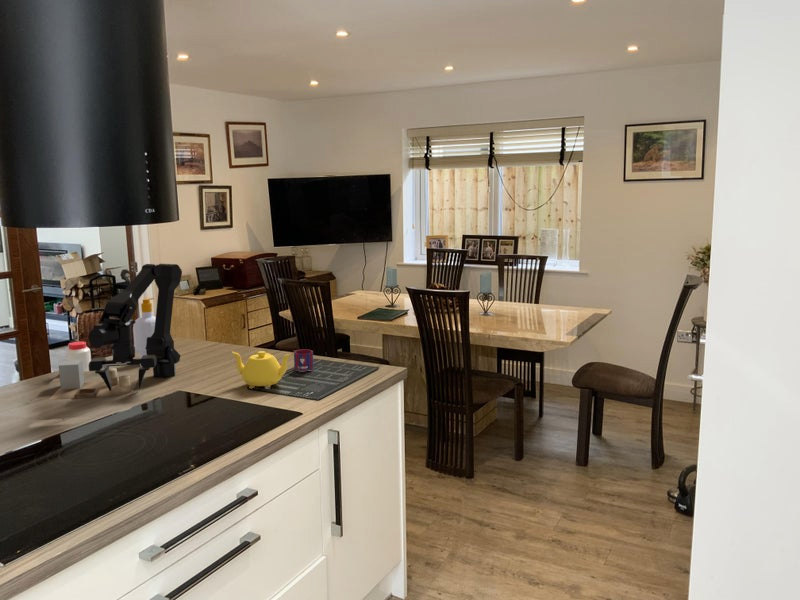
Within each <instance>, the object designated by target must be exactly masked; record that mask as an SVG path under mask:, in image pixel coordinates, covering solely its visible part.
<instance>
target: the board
mask: <svg viewBox="0 0 800 600" xmlns="http://www.w3.org/2000/svg"><path fill="white" fill-rule="evenodd" d="M130 384H131V392H130V393H128V394H120V388H119V380H118V384H117V385H115V386H112V390H111V391H110V390H109V389H108V387H107V385H106V383H105V382H104V381H94V382H92V381H91V382H84V384H83V385H82V387H81V388H76V389H61V386H60V387H59V388H58V389H57V390H56V391H55V393H54V394H53V395H52V396H51V397H50V398H49V399H48V400H49V401H56V400H68V399H69V400H71V399H72V400H73V399H85V398H86V399H87V398H97V397H98V398H99V397H113V396H114V397H115V396H128V395H132V394H133V392H134V390H135V388H136V387H137V386H138V385H137V384H138V379H130Z"/></svg>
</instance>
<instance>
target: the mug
mask: <svg viewBox="0 0 800 600" xmlns="http://www.w3.org/2000/svg"><path fill="white" fill-rule="evenodd" d="M293 366H294V369H295V370H298V371H308V370H312V369H313V370H314V350H311V349H305V348H304V349H297V350H295V351H293ZM295 370H294V371H295Z"/></svg>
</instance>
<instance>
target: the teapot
mask: <svg viewBox="0 0 800 600" xmlns="http://www.w3.org/2000/svg"><path fill="white" fill-rule="evenodd" d="M231 353H232V354H233V355H234V356H235V358H236V369H237V372H238V373H239V374H240V375H241V378H242V379H241V380H243V381H244V383H245V384H247V385H248V387H249V388H253V387H255V386H256V387H264V388H265V387H270V386H272V385H276V384H278V383H279V382H280V380H281V379H282V377H283V376H284V375H285V373H286V372H287V369H288V358H289V356H290V355H292V352H290V353H286V354H285V355H283V357H282V364H281V365H280V363H279V362H278V360H277V358H276V357H275V356H274V355H273V354H270V353H269V352H266V351H264V350H261V351H257V354H253V355H251V356H249V357H248V359H247V361H246V362H245V364H244V363H243V362H242V357H241V355H240V353H238V352H236V351H231ZM256 387H255V388H256Z"/></svg>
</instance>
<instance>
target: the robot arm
mask: <svg viewBox="0 0 800 600" xmlns="http://www.w3.org/2000/svg"><path fill="white" fill-rule="evenodd" d="M182 275H183V270H182V268H181V267H180V265H179V264H177V263H176V264H174V263H159V264H156V263H145V264H143V265H142V266H141V270H140V271H139V272H138V273H137V274H136V276H134V278H133V279H132V280H131V282H130V283H129V284H128V285H127V286H126V287H125V289H124V290H123V291H122V292H120V293H118V294H116V295H114V296H113V297H111V298H110V299H109V300H108V301H106V304H105V307H104V309H103V312H102V314H101V316H100V319H99V321H98V323H97V324H93V325H92V328H93V329H91V330H90V331H89V333H88V336H87V339H88V342H89V344H90V345H91V346H92V348H95V349H101V348H104V347H106V346H110V345H111V346H110V354H111V355H112V359H110V360H108V359H107V358H106V356H105V357H104V356H103V357H93V358H91V361H90V363H89V371H88V372H94V373H95V374H98V375H99V376H100V378H102V380H103V382H105V383H106V385H107V387H108V389H109V390H110V391H111V390H112V385H111V380H110V374H109V369H110V367H122V366H123V367H124V366H140V367H139V369H138V379H137V380H138V383H137V384H138V385H137V386H138V389H139V390H141V388H142V386H143V381H144V378H145V377H144V376H145V374H146V372H147V371H149V370H150V369H152V373H153V375H152V376H153V378H159V379H167V378H171V377H176V375H177V372H176V368H177V367H176V364H178V363H179V362H180V361H181V354H180V353H179V351H177V350H176V348H175V341H174V340H173V337H172V335H171V326H172V315H173V308H174V307H173V306H174V297H175V290H176V289H177V287H178V286H180V285H181V279H182ZM153 282H155V285H156V287H157V289H158V291H157V301H156V303H157V304H156V312H155V317H156V319H155V329H154V333H153V334H152V336H151V337H147V344H146V348H145V349H146V353H147V355H143V356H142V358H141V359H139V358H136V351H135V347H134V344H133V338H132V325H134V324H135V323H136V320H134V318H132V317H133V315H134V313H135V312H136V309H137V308H138V303H137V302H138V301H139V299H140V298H141V297H142V295H143V294H144V293H145V292H146V290H148V288H149V287H150V285H151V284H152V283H153Z"/></svg>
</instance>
